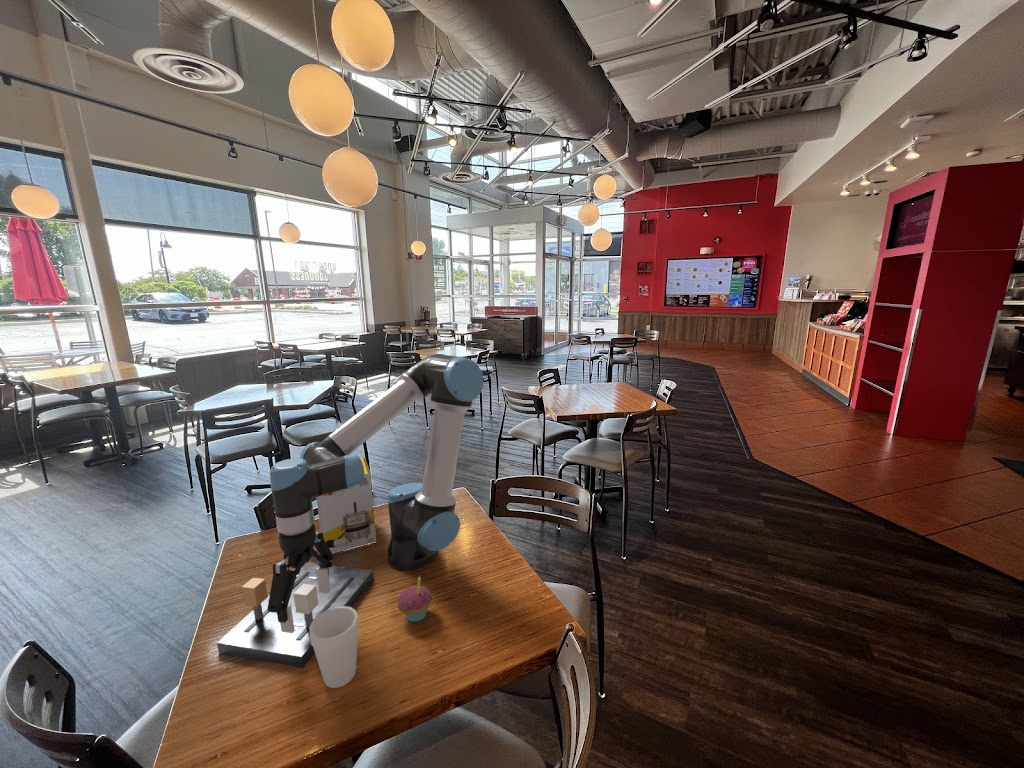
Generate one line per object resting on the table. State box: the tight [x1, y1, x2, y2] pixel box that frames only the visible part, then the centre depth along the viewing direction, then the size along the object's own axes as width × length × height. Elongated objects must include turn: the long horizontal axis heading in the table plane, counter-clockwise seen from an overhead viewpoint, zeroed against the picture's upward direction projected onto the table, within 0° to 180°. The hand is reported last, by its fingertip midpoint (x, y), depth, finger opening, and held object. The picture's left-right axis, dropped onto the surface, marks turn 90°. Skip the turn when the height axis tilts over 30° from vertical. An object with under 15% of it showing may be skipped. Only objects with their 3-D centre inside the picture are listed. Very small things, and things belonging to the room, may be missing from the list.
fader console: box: [216, 562, 375, 669], centre depth 107 cm, size 22×30×3 cm
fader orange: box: [241, 577, 269, 620], centre depth 100 cm, size 3×3×10 cm
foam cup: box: [309, 606, 360, 689], centre depth 88 cm, size 10×9×13 cm
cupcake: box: [396, 575, 433, 623], centre depth 104 cm, size 9×8×12 cm
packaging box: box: [315, 456, 377, 553], centre depth 139 cm, size 16×16×25 cm
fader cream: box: [294, 584, 318, 627], centre depth 98 cm, size 3×3×10 cm
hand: (307, 610), depth 98 cm, fingers open, 12 cm apart
